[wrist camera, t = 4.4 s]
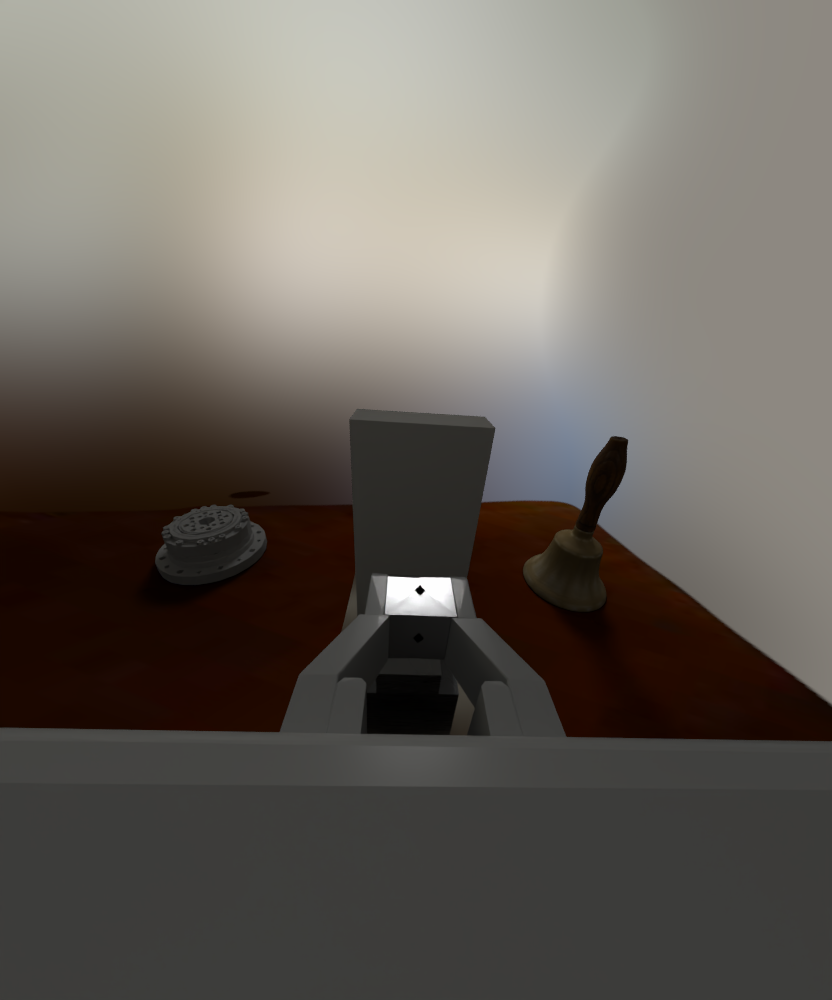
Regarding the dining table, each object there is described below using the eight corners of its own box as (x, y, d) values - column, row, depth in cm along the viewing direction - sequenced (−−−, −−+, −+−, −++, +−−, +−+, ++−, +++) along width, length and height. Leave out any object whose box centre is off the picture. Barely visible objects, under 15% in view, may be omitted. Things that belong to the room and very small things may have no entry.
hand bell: (623, 613, 29) (710, 457, 22) (539, 611, 29) (598, 451, 21) (580, 558, 36) (634, 426, 29) (513, 555, 36) (549, 422, 28)
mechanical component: (277, 564, 32) (256, 521, 39) (271, 530, 30) (250, 490, 37) (160, 603, 27) (159, 545, 34) (142, 565, 25) (145, 511, 32)
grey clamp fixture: (445, 752, 17) (463, 674, 14) (358, 751, 17) (354, 672, 14) (425, 516, 40) (430, 464, 37) (388, 514, 40) (389, 462, 37)
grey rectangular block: (451, 656, 20) (495, 428, 12) (358, 654, 19) (349, 419, 12) (445, 608, 23) (476, 408, 16) (366, 605, 23) (363, 401, 16)
